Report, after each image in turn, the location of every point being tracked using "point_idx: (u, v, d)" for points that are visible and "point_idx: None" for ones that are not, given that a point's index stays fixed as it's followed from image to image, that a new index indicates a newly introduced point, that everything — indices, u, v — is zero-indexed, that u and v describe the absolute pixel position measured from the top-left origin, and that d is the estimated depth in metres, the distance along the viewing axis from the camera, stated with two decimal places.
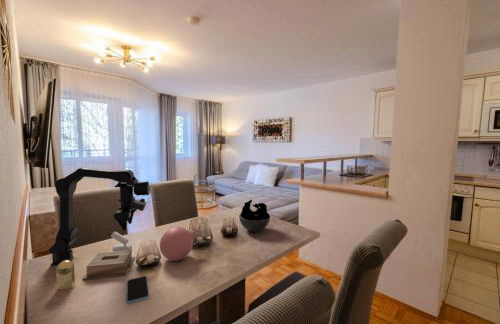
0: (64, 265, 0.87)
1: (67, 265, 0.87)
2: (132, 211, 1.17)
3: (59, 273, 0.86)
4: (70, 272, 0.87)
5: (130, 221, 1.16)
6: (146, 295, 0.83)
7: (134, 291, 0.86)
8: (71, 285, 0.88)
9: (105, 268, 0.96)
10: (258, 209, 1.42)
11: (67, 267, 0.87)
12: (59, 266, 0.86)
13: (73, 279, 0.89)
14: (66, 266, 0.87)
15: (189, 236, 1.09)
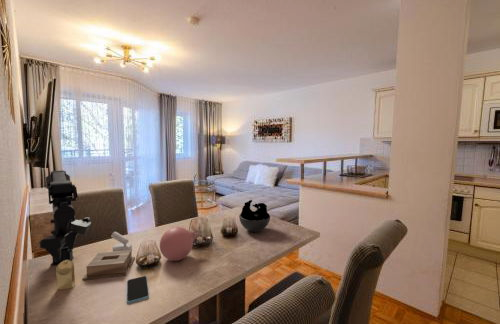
0: (64, 265, 0.87)
1: (67, 265, 0.87)
2: (74, 233, 0.92)
3: (59, 273, 0.86)
4: (70, 272, 0.87)
5: (71, 246, 0.92)
6: (146, 295, 0.83)
7: (134, 291, 0.86)
8: (71, 285, 0.88)
9: (105, 268, 0.96)
10: (258, 209, 1.42)
11: (67, 267, 0.87)
12: (59, 266, 0.86)
13: (73, 279, 0.89)
14: (66, 266, 0.87)
15: (189, 236, 1.09)
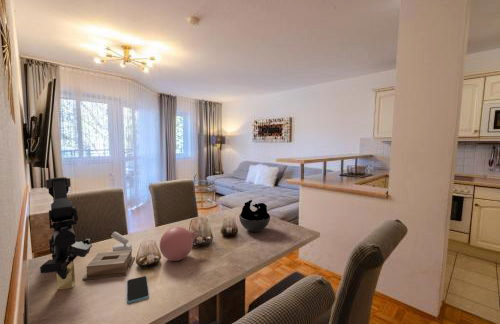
0: None
1: None
2: (70, 259, 0.89)
3: None
4: (70, 272, 0.87)
5: None
6: (146, 295, 0.83)
7: (134, 290, 0.86)
8: (71, 285, 0.88)
9: (105, 268, 0.96)
10: (258, 209, 1.42)
11: (67, 267, 0.87)
12: None
13: (73, 279, 0.89)
14: None
15: (189, 236, 1.09)
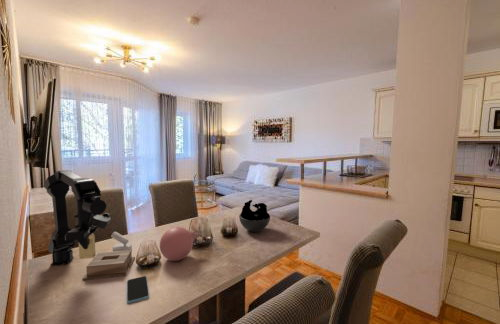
0: None
1: None
2: (91, 231, 0.95)
3: None
4: (91, 243, 0.93)
5: None
6: (146, 295, 0.83)
7: (134, 290, 0.86)
8: (92, 255, 0.93)
9: (105, 268, 0.96)
10: (258, 209, 1.42)
11: None
12: None
13: (94, 250, 0.94)
14: None
15: (189, 236, 1.09)
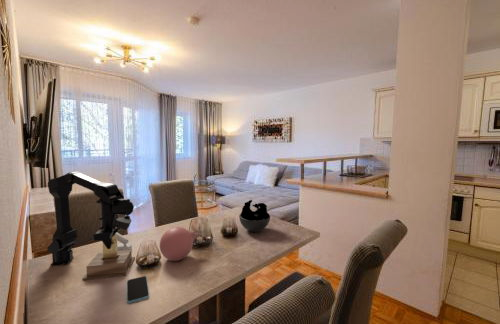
0: None
1: (112, 237, 1.00)
2: (113, 232, 1.02)
3: None
4: (114, 243, 1.00)
5: None
6: (146, 295, 0.83)
7: (134, 290, 0.86)
8: (115, 254, 1.01)
9: (105, 268, 0.96)
10: (258, 209, 1.42)
11: (112, 238, 1.00)
12: None
13: (116, 249, 1.02)
14: None
15: (189, 236, 1.09)
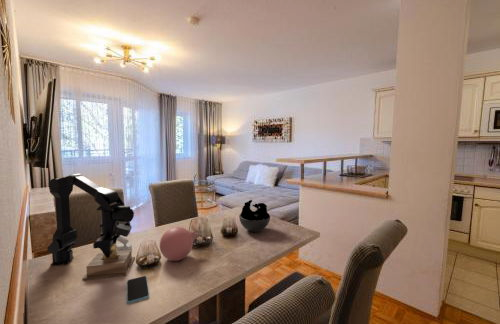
0: None
1: (112, 247, 1.00)
2: (115, 237, 1.04)
3: None
4: (115, 253, 1.01)
5: None
6: (146, 295, 0.83)
7: (134, 291, 0.86)
8: None
9: (105, 268, 0.96)
10: (258, 209, 1.42)
11: (112, 249, 1.00)
12: None
13: None
14: (111, 248, 1.00)
15: (189, 236, 1.09)
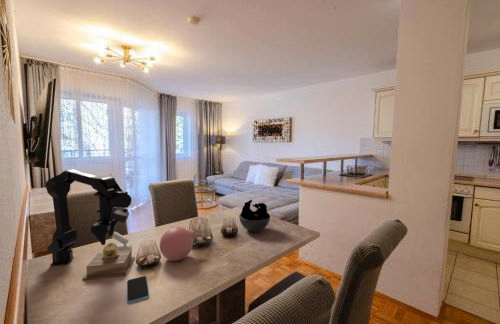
0: (110, 247, 1.00)
1: (112, 247, 1.00)
2: (114, 222, 1.06)
3: (105, 254, 1.00)
4: (115, 253, 1.01)
5: (111, 233, 1.05)
6: (146, 295, 0.83)
7: (134, 291, 0.86)
8: None
9: (105, 268, 0.96)
10: (258, 209, 1.42)
11: (112, 249, 1.00)
12: (105, 248, 1.00)
13: None
14: (111, 248, 1.00)
15: (189, 236, 1.09)
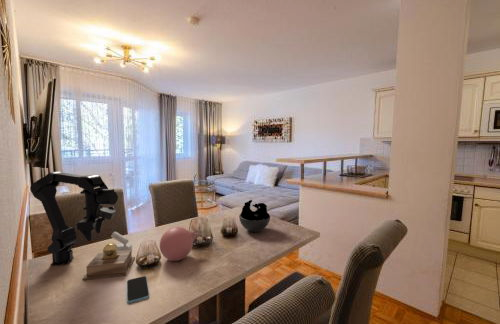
0: (110, 247, 1.00)
1: (112, 247, 1.00)
2: (101, 219, 1.08)
3: (105, 254, 1.00)
4: (115, 253, 1.01)
5: (98, 230, 1.08)
6: (146, 295, 0.83)
7: (135, 290, 0.86)
8: None
9: (105, 268, 0.96)
10: (258, 209, 1.42)
11: (112, 249, 1.00)
12: (105, 248, 1.00)
13: None
14: (111, 248, 1.00)
15: (189, 236, 1.09)
